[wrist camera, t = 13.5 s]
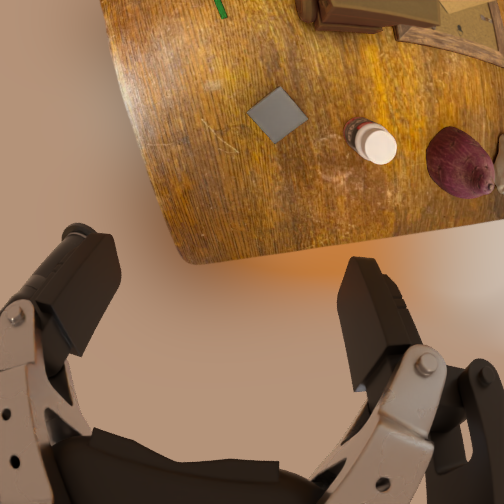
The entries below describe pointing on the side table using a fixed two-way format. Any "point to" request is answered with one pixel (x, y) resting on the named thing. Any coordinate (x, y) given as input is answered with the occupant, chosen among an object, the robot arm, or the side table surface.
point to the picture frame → (462, 30)
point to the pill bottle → (370, 140)
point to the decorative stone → (500, 166)
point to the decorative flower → (220, 9)
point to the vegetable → (460, 164)
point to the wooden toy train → (368, 14)
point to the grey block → (277, 114)
